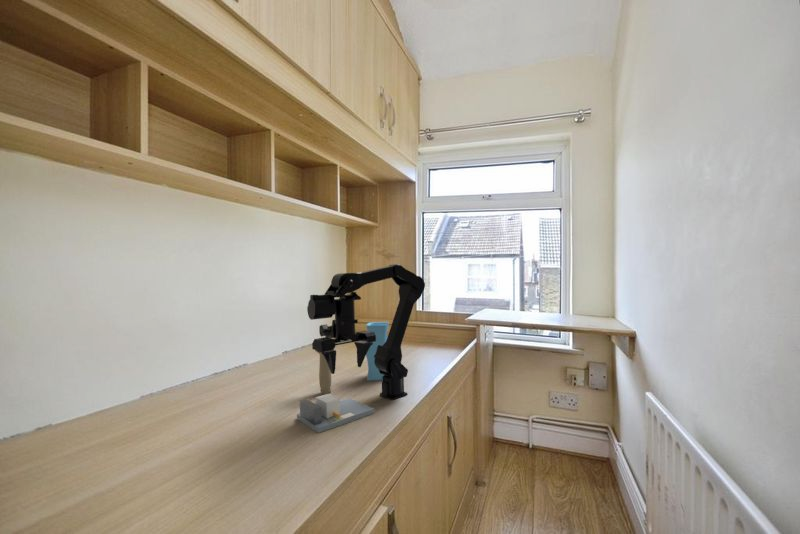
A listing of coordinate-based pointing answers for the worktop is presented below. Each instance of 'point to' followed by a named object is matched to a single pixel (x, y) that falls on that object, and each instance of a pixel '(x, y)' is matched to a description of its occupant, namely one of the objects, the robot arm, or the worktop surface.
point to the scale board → (341, 415)
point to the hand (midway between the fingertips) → (346, 370)
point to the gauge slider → (329, 405)
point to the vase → (381, 338)
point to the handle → (324, 375)
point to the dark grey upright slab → (311, 412)
